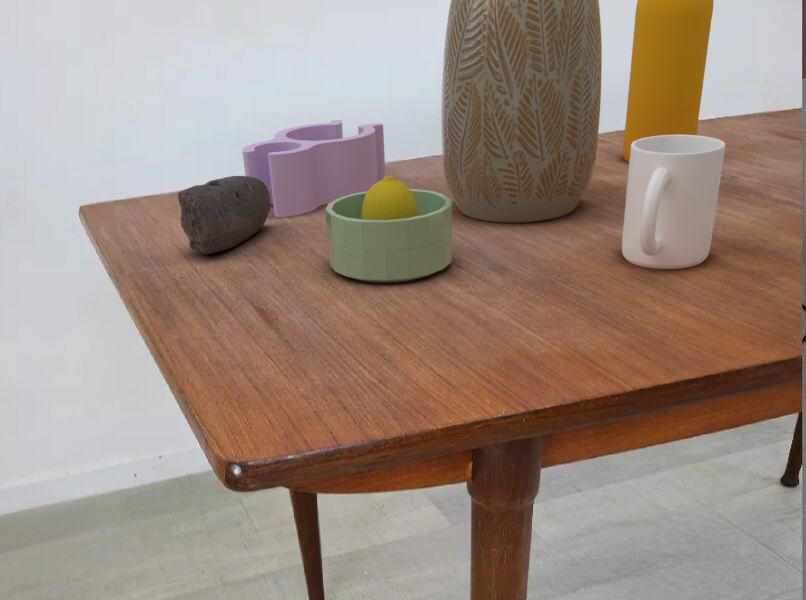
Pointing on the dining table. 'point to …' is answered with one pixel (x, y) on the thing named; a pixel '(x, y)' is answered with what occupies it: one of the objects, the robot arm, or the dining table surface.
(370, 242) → the green planter pot
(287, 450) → the dining table surface
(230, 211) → the perforated stone tool
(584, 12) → the vase
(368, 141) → the clip
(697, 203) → the mug
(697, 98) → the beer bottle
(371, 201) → the lemon
